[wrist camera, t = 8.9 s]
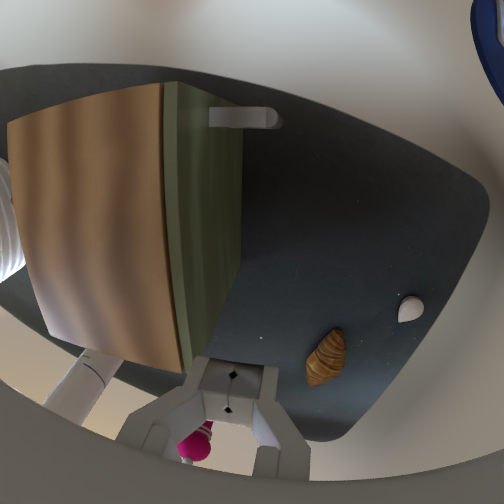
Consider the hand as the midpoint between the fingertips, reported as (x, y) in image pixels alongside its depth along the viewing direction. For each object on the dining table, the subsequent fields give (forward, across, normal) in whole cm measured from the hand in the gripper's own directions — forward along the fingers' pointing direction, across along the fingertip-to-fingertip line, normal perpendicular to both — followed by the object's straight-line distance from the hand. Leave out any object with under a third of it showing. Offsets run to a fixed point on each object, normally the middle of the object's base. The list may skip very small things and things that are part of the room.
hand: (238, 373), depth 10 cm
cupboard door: (+30, +3, 0) cm, 31 cm away
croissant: (+31, -10, +27) cm, 42 cm away
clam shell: (+31, -22, +16) cm, 41 cm away
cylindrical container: (+31, +30, +30) cm, 52 cm away
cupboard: (+30, +14, 0) cm, 34 cm away
